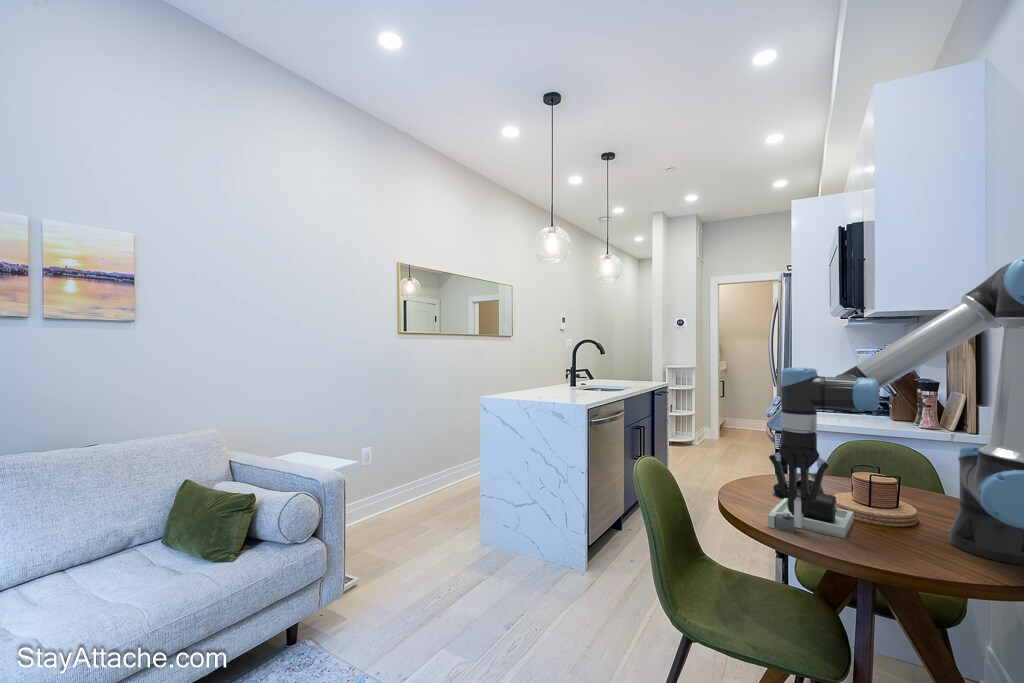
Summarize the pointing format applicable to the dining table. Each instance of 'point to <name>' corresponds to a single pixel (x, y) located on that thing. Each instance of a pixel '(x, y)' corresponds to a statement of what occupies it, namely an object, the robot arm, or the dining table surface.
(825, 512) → the end cap
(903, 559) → the dining table surface
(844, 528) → the pale green tray
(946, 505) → the dining table surface
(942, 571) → the dining table surface
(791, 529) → the block
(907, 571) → the dining table surface
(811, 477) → the caster wheel
